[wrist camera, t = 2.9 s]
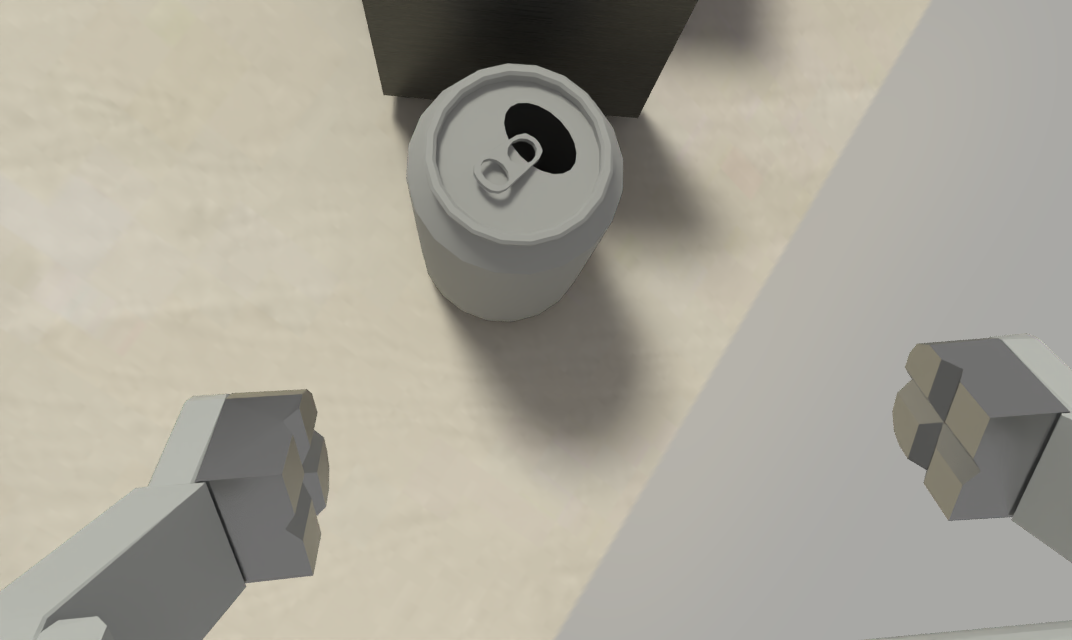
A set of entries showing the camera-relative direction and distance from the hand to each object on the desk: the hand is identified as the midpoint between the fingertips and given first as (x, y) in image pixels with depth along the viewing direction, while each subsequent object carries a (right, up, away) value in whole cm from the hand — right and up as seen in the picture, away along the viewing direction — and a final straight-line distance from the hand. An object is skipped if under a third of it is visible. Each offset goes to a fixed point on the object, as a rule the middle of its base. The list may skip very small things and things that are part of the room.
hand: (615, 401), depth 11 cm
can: (-3, +4, +26) cm, 27 cm away
